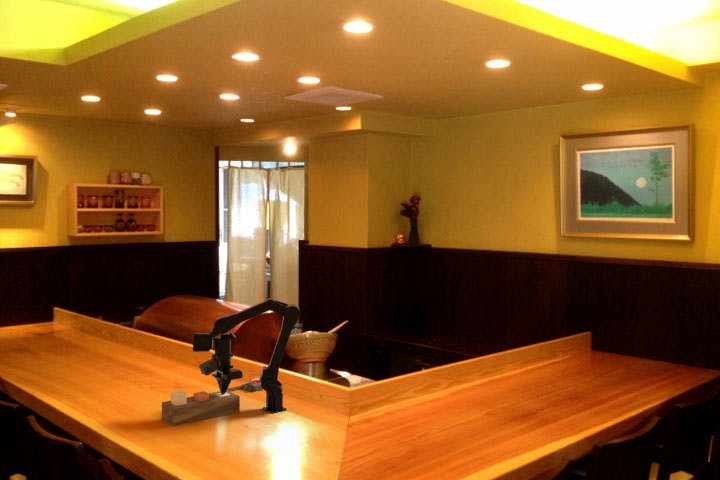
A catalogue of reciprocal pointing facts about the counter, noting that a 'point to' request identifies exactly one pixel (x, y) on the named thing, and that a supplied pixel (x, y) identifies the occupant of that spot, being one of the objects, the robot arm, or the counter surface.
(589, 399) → the counter surface
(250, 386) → the walkie-talkie
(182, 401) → the cream plug
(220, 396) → the cream plug
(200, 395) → the plug terracotta
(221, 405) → the socket board
